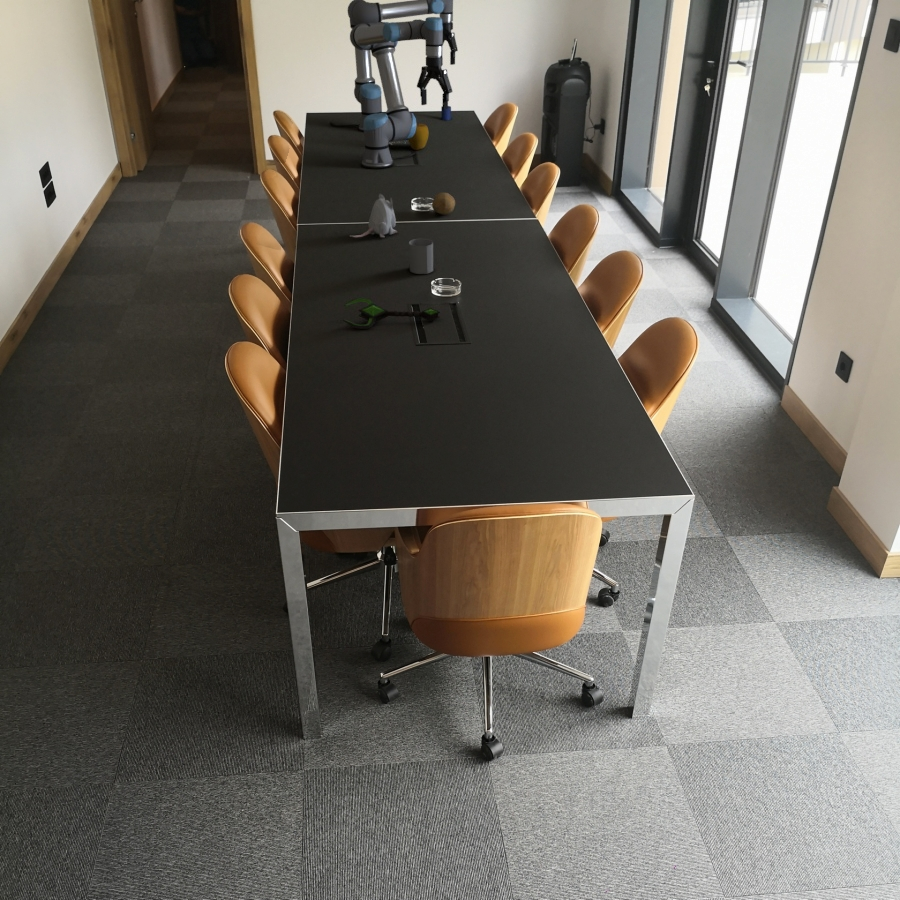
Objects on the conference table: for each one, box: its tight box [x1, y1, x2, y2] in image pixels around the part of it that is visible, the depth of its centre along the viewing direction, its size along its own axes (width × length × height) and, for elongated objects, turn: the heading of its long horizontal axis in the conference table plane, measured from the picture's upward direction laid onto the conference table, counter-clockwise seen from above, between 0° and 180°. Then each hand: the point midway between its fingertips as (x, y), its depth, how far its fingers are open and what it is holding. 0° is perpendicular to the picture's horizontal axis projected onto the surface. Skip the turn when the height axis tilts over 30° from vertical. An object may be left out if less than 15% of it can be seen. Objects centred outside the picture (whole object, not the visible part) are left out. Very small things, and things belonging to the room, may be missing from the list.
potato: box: [431, 192, 456, 216], centre depth 360 cm, size 10×14×8 cm
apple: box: [407, 122, 429, 151], centre depth 451 cm, size 11×11×13 cm
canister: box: [440, 105, 452, 121], centre depth 514 cm, size 6×6×7 cm
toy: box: [350, 193, 398, 239], centre depth 333 cm, size 9×24×15 cm, turn 137°
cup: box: [408, 237, 434, 275], centre depth 305 cm, size 8×8×10 cm
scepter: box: [342, 297, 441, 330], centre depth 270 cm, size 6×13×30 cm
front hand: (434, 106), depth 395 cm, fingers open, 13 cm apart
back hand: (446, 62), depth 499 cm, fingers open, 13 cm apart
